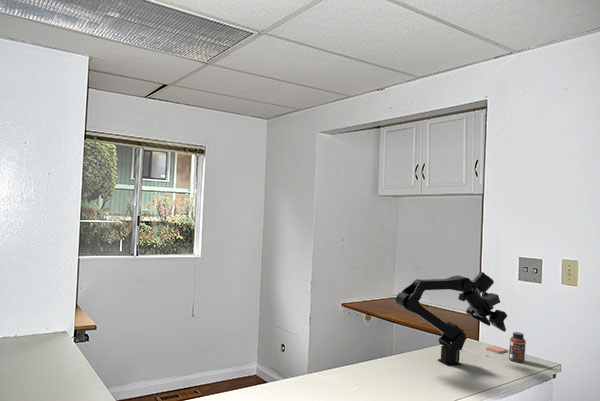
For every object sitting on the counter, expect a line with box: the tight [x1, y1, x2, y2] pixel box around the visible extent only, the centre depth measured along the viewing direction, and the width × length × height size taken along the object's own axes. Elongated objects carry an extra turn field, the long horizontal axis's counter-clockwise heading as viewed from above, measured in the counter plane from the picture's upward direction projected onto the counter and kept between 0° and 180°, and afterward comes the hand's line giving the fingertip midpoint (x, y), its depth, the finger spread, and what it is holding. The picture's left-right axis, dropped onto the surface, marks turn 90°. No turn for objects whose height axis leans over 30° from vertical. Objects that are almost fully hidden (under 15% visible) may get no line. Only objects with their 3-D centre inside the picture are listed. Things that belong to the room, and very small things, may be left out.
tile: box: [485, 345, 508, 355], centre depth 201 cm, size 1×6×7 cm
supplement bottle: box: [508, 331, 527, 363], centre depth 188 cm, size 6×6×11 cm
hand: (497, 328), depth 186 cm, fingers open, 9 cm apart
